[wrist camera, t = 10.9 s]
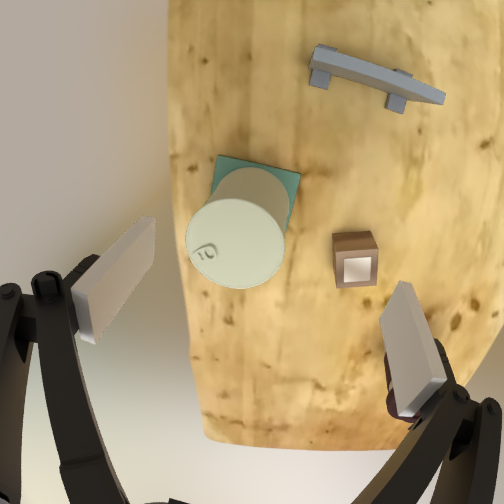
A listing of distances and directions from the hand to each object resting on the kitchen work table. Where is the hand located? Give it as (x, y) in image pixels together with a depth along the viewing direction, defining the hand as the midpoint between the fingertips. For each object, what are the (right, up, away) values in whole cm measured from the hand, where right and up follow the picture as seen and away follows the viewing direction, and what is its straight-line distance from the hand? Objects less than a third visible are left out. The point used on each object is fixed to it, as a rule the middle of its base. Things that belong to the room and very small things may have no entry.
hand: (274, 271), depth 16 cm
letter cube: (+12, +1, +24) cm, 27 cm away
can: (-1, +7, +23) cm, 24 cm away
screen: (+11, +20, +14) cm, 27 cm away
